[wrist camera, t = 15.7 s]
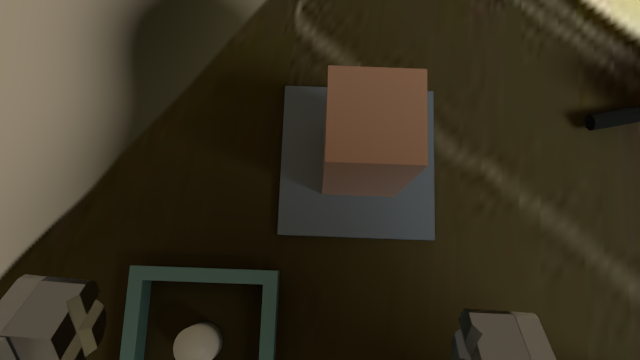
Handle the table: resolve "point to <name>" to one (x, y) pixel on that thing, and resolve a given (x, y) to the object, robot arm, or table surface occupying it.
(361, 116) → the brown tall block
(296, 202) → the rubber mat
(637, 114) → the handheld radio
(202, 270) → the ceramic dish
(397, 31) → the table surface
